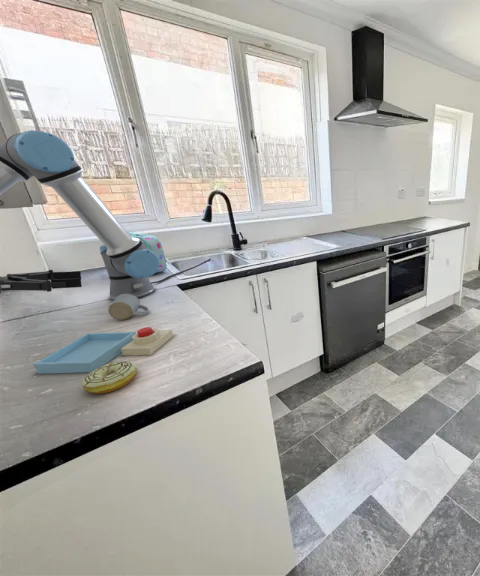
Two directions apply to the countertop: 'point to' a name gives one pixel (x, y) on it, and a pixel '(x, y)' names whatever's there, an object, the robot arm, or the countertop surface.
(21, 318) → the countertop surface
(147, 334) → the button
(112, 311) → the ceramic mug
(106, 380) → the decorated donut
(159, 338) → the control block
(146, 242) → the lunch box
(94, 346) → the shallow blue tray
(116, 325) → the countertop surface
